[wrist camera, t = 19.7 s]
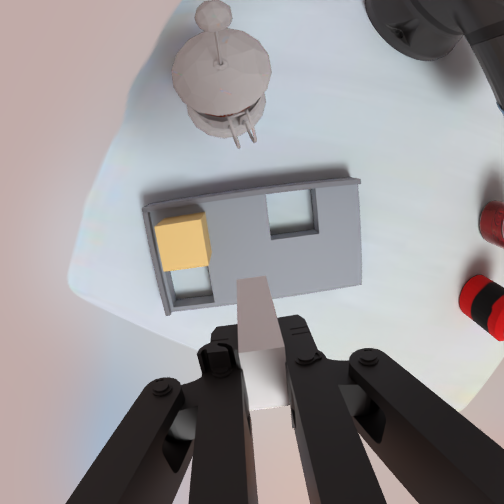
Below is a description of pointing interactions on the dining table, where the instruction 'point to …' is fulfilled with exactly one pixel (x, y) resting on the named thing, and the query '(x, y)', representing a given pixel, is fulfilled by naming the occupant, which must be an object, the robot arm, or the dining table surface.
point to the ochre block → (183, 242)
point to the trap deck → (267, 242)
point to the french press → (222, 75)
